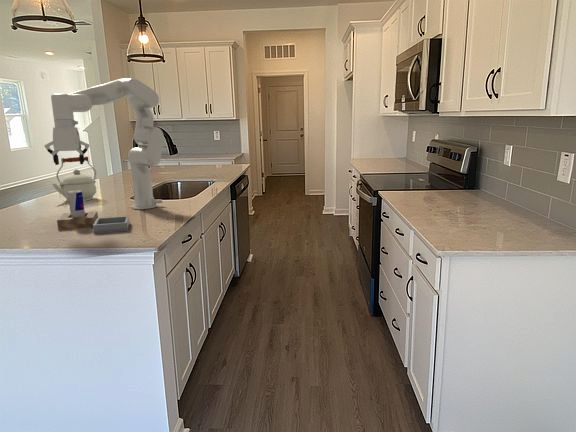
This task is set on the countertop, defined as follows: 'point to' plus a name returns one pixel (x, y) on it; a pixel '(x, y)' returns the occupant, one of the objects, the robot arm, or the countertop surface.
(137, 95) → the robot arm
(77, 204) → the beverage can
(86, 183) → the kettle
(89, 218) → the socket block
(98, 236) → the countertop surface
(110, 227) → the tray
